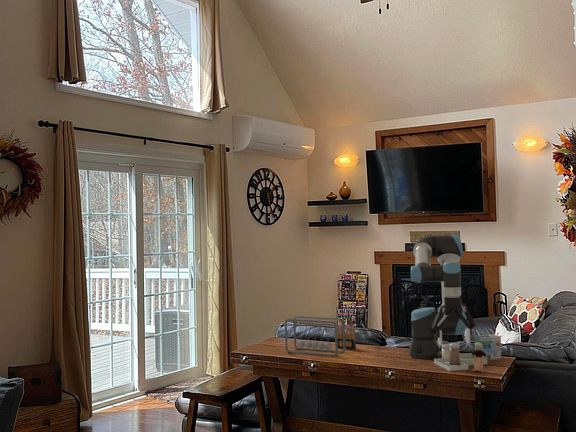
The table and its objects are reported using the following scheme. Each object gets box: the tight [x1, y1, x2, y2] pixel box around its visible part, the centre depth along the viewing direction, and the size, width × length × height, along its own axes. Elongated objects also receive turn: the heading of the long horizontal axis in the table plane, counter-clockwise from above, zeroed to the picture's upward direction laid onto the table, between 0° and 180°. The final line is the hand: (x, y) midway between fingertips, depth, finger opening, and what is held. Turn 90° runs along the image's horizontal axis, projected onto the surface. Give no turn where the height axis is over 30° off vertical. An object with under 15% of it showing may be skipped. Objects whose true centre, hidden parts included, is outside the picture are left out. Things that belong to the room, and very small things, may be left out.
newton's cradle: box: [284, 315, 347, 358], centre depth 327 cm, size 30×10×18 cm, turn 60°
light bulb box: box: [474, 333, 502, 361], centre depth 303 cm, size 11×7×11 cm, turn 103°
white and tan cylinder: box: [448, 342, 461, 366], centre depth 284 cm, size 4×4×11 cm
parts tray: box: [460, 352, 488, 367], centre depth 294 cm, size 12×12×3 cm
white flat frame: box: [433, 358, 469, 372], centre depth 288 cm, size 16×9×3 cm, turn 11°
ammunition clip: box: [337, 325, 357, 350], centre depth 337 cm, size 11×2×12 cm, turn 63°
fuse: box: [441, 343, 450, 362], centre depth 292 cm, size 4×4×9 cm
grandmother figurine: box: [471, 342, 489, 372], centre depth 278 cm, size 8×4×13 cm, turn 60°
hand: (454, 343), depth 284 cm, fingers open, 13 cm apart
